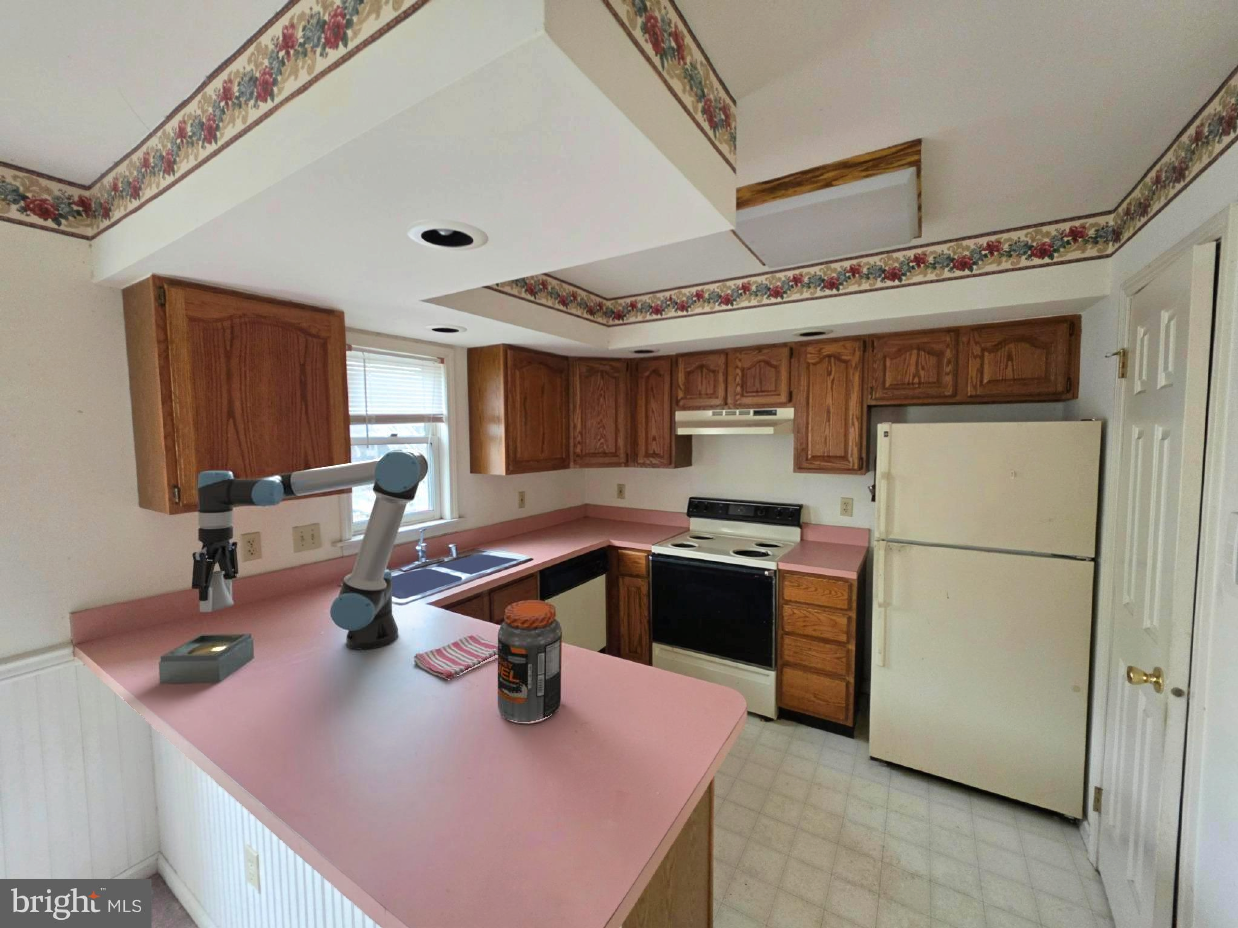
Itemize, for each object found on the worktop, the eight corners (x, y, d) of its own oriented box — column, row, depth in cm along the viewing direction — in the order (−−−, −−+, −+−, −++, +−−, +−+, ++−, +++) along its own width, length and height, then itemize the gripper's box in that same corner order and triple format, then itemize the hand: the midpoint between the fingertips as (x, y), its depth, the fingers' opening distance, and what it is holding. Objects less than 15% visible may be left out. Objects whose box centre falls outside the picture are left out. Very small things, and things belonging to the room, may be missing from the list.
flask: (214, 613, 134) (213, 577, 133) (193, 609, 135) (192, 574, 134) (239, 604, 141) (239, 570, 140) (219, 601, 142) (219, 567, 142)
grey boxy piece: (253, 657, 145) (253, 633, 145) (219, 682, 131) (218, 655, 131) (200, 658, 144) (198, 634, 143) (159, 683, 130) (158, 656, 130)
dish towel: (411, 665, 144) (411, 654, 144) (476, 638, 163) (476, 628, 162) (445, 684, 134) (445, 672, 134) (511, 653, 153) (511, 643, 152)
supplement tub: (486, 705, 124) (486, 605, 122) (540, 685, 134) (541, 592, 132) (516, 736, 111) (517, 626, 110) (573, 711, 122) (575, 610, 120)
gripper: (227, 519, 146) (227, 594, 147) (171, 533, 126) (172, 619, 128) (253, 519, 146) (254, 594, 148) (202, 534, 127) (203, 620, 128)
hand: (216, 606), depth 138 cm, fingers closed on flask, 7 cm apart
